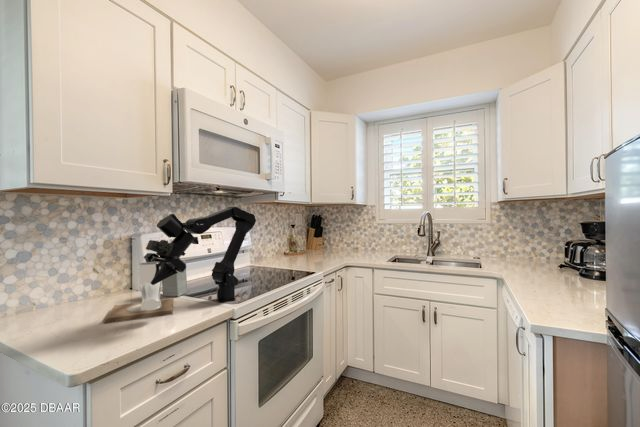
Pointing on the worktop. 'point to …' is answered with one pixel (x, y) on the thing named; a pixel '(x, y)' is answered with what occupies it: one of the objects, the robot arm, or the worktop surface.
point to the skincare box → (175, 284)
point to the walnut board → (138, 311)
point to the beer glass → (149, 286)
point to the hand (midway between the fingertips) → (146, 282)
